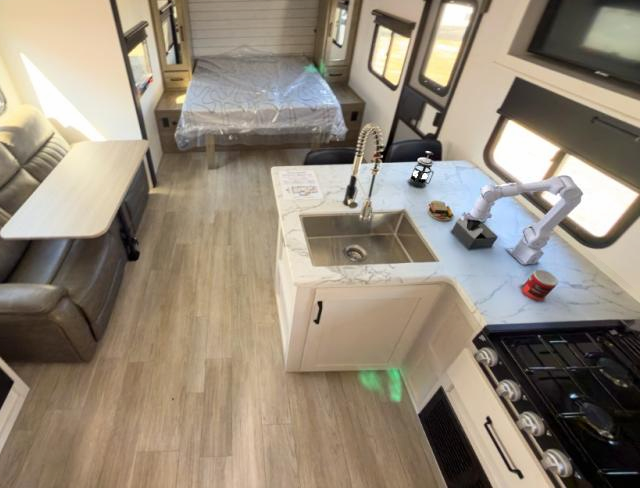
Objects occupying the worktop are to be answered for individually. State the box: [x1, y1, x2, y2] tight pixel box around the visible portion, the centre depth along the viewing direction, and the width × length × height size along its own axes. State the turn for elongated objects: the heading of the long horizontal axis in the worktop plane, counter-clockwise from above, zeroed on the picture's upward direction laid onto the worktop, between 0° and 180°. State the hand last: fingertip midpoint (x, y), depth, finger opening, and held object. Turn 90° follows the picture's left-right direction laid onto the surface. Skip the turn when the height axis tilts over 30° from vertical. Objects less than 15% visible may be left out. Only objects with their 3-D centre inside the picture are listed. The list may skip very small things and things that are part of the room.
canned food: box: [521, 269, 559, 302], centre depth 134 cm, size 8×8×11 cm
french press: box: [408, 150, 435, 189], centre depth 197 cm, size 12×9×23 cm
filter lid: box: [456, 212, 483, 239], centre depth 157 cm, size 13×6×1 cm
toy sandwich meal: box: [427, 200, 454, 222], centre depth 178 cm, size 12×14×5 cm
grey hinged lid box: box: [451, 221, 498, 250], centre depth 162 cm, size 13×13×7 cm
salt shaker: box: [484, 201, 496, 221], centre depth 172 cm, size 6×6×13 cm
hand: (468, 229), depth 157 cm, fingers closed
